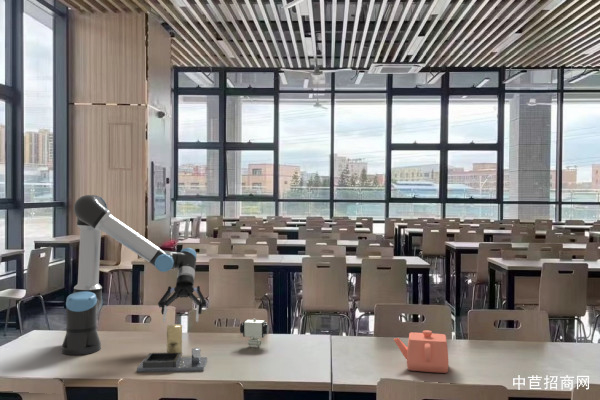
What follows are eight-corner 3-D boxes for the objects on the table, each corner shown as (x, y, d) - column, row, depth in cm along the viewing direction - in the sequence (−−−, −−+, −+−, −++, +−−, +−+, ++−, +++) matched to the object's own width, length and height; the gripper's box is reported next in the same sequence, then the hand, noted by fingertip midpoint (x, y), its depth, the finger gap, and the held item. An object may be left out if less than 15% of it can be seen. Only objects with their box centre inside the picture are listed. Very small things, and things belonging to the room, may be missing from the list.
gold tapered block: (165, 358, 213) (165, 327, 213) (168, 353, 219) (168, 324, 219) (180, 357, 213) (180, 327, 213) (183, 353, 219) (183, 324, 219)
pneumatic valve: (266, 348, 226) (266, 320, 226) (239, 347, 228) (239, 319, 228) (269, 345, 231) (269, 317, 231) (243, 344, 233) (243, 316, 233)
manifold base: (136, 372, 195) (137, 354, 195) (144, 362, 207) (144, 345, 207) (203, 371, 197) (203, 353, 197) (207, 361, 209) (207, 344, 209)
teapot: (446, 360, 210) (447, 325, 210) (449, 379, 188) (449, 339, 188) (395, 357, 214) (395, 322, 214) (392, 374, 193) (392, 336, 193)
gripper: (214, 283, 242) (211, 324, 228) (158, 284, 241) (151, 325, 226) (213, 273, 237) (209, 314, 222) (155, 274, 235) (148, 315, 221)
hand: (180, 320), depth 224 cm, fingers open, 13 cm apart
